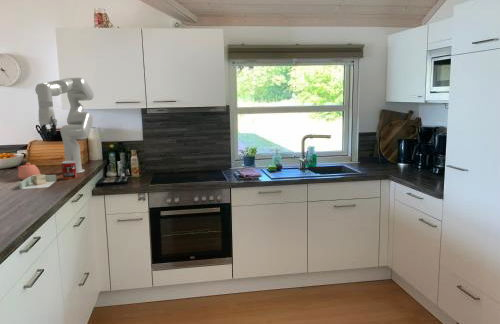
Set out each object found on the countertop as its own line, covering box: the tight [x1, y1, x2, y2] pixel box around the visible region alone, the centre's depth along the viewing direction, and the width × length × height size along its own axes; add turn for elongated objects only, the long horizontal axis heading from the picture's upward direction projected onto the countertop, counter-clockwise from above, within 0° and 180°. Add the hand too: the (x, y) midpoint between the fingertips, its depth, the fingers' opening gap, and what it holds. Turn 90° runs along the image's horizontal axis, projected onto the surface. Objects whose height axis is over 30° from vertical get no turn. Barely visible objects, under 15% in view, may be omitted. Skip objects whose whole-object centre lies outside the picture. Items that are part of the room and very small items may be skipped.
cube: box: [32, 173, 46, 185], centre depth 237 cm, size 5×5×5 cm
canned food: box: [61, 160, 78, 180], centre depth 251 cm, size 8×8×11 cm
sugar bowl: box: [17, 162, 41, 181], centre depth 255 cm, size 12×14×10 cm
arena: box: [18, 174, 57, 190], centre depth 235 cm, size 18×14×4 cm
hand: (49, 134), depth 243 cm, fingers open, 9 cm apart
